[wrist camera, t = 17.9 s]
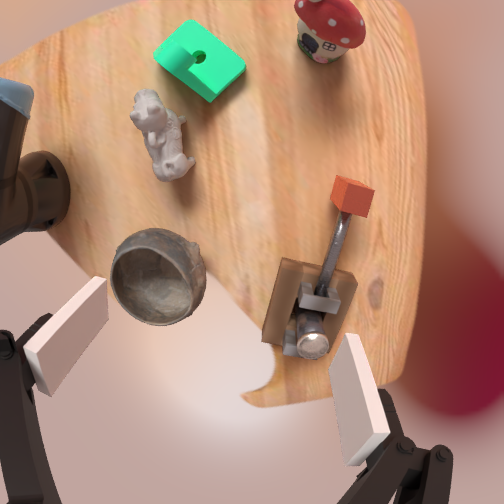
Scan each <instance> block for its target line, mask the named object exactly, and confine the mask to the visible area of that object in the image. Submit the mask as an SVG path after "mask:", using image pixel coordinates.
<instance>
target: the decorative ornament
mask: <svg viewBox="0 0 504 504" xmlns="http://www.w3.org/2000/svg"><path fill="white" fill-rule="evenodd" d="M294 8H295V11H296V13H297V14H298V16H299V17H300V19H299V21H298V24H297V29H298V33H299V34H298V38H297V41H298V44H299V46H300V48H301V49H302V50H303V51H304V52H305V53H306V54H307V55H308V56H309V57H310V58H311V59H313V60H314V61H316V62H318V63H329V62H333V61H336V60H337V59H338V58H339V57H340V56H341V55H343V54H344V53H346V52H347V51H348V50H349V48H351V49H352V48H356V47H358V46H360V45H361V44H362V43H363V42H364V39H365V35H366V29H365V23H364V20H363V18H362V16H361V14H360V12H359V11H358V9H357V8H356V7H355V6H354V5H353V4H352V3H351V2H350V1H349V0H296V1H295V5H294Z"/></svg>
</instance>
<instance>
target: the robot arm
mask: <svg viewBox="0 0 504 504" xmlns="http://www.w3.org/2000/svg"><path fill="white" fill-rule="evenodd" d="M33 99H34V91H33V89H32V88H31V87H30V86H29V85H26V84H23V83H20V82H16V81H12V80H9V79H5V78H1V77H0V245H1V244H3V243H5V242H7V241H8V240H10V239H12V238H13V237H15V236H17V235H19V234H21V233H23V232H37V231H46V230H49V229H51V228H52V227H54V226H56V225H58V224H59V223H60V222H61V221H62V219H63V218H64V216H65V215H66V212H67V210H68V206H69V200H70V187H69V181H68V177H67V174H66V171H65V169H64V167H63V165H62V163H61V162H60V161H59V159H58V158H57V157H56V156H54V155H53V154H51V153H50V152H47V151H37V152H32V153H29V154H27V155H25V156H24V157H22V158H21V159H20V155H21V150H22V145H23V141H24V136H25V132H26V128H27V124H28V120H29V119H30V111H31V107H32V103H33ZM107 321H108V301H107V279H105V278H101V277H98V276H94V277H93V278H92V279H91V280H90V281H89V282H88V283H87V284H86V285H85V286H83V287H82V288H81V289H80V290H79V291H78V292H77V293H76V294H75V295H74V296H73V297H72V298H71V299H70V300H69V301H68V302H67V303H66V304H64V306H62V307H61V308H60V309H59V310H58V311H57V312H56V313H55V314H54V315H52V314H50V313H48V314H45V315H43V316H41V317H40V318H39V319H38V320H37V321H36V322H35V323H34V324H33V325H31V327H29V329H27V330H26V331H25V333H23V335H22V336H20V338H19V339H18V340H17V341H16V342H15V340H14V337H13V334H12V333H11V332H10V331H7V330H0V462H1V467H2V472H3V477H4V481H5V486H6V490H7V494H8V499H9V502H8V503H7V504H62V503H61V500H60V497H59V495H58V492H57V489H56V486H55V483H54V480H53V477H52V474H51V471H50V467H49V464H48V460H47V456H46V453H45V449H44V445H43V441H42V436H41V432H40V427H39V423H38V417H37V412H36V406H35V400H34V394H33V390H32V386H33V385H34V383H36V385H37V388H38V390H39V391H40V392H42V393H44V394H46V395H48V396H50V397H52V395H53V394H54V392H55V391H56V389H57V388H58V387H59V385H60V384H61V382H62V381H63V379H64V378H65V377H66V375H67V374H68V373H69V371H70V370H71V368H72V367H73V366H74V364H75V363H76V362H77V360H78V359H79V357H80V356H81V355H82V353H83V352H84V351H85V349H86V348H87V347H88V345H89V344H90V343H91V342H92V340H93V339H94V338H95V336H96V335H97V334H98V332H99V331H100V330H101V329H102V327H103V326H104V324H105V323H106V322H107ZM328 370H329V376H330V381H331V387H332V392H333V398H334V404H335V410H336V416H337V422H338V428H339V434H340V441H341V447H342V454H343V462H344V466H360V465H361V464H362V463H363V462H364V461H365V460H366V463H367V467H366V468H365V469H364V470H363V471H362V472H361V473H360V474H359V475H357V477H358V478H357V479H356V481H355V482H354V483H353V485H352V486H351V487H350V488H349V490H348V491H347V492H346V493H345V495H344V496H343V497H342V498H341V499H340V500H339V502H338V503H337V504H388V503H389V501H390V500H391V498H392V496H393V495H394V493H395V491H396V490H397V492H396V495H395V499H394V502H393V504H448V502H449V495H450V488H451V479H452V469H453V454H452V452H451V450H450V449H448V447H446V446H444V445H436V446H435V447H433V448H432V449H431V450H426V449H421V448H417V447H416V445H415V444H414V442H413V441H412V440H411V439H410V438H408V437H405V436H404V433H403V430H402V427H401V424H400V421H399V418H398V415H397V413H396V410H395V407H394V403H393V401H392V398H391V396H390V395H389V393H388V392H387V391H386V390H385V389H377V387H376V384H375V381H374V378H373V375H372V372H371V369H370V366H369V363H368V360H367V358H366V355H365V352H364V349H363V346H362V343H361V341H360V338H359V335H358V334H351V333H345V335H344V337H343V340H342V342H341V344H340V346H339V348H338V350H337V352H336V355H335V357H334V359H333V361H332V363H331V365H330V367H329V369H328Z"/></svg>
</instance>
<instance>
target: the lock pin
mask: <svg viewBox="0 0 504 504" xmlns="http://www.w3.org/2000/svg"><path fill="white" fill-rule="evenodd" d="M374 191H375V190H373V189H371V188H370V187H368V186H366V185H364V184H363V183H361V182H359V181H355V180H352V179H349V178H345V177H341V176H338V175H336V178H335V182H334V186H333V190H332V194H331V197H330V199H331V200H332V202H333V203H334V204H335V205H336V206H337V207H338V209H339V213H338V217H337V220H336V224H335V227H334V230H333V234H332V237H331V240H330V244H329V247H328V250H327V253H326V256H325V260H324V263H323V266H322V269H321V272H320V275H319V278H318V281H317V284H316V287H315V290H314V293H313V294H314V295H316V296H321V297H325V296H326V293H327V290H328V287H329V285H330V282H331V279H332V276H333V273H334V270H335V267H336V264H337V261H338V258H339V255H340V252H341V249H342V246H343V243H344V240H345V236H346V233H347V230H348V227H349V224H350V220H351V217H352V214H355V215H358V216H362V217H366V218H367V215H368V212H369V209H370V205H371V202H372V198H373V195H374Z"/></svg>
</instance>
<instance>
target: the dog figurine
mask: <svg viewBox="0 0 504 504" xmlns="http://www.w3.org/2000/svg"><path fill="white" fill-rule="evenodd" d="M134 101H135V103H136V104H135V105H134V106H133V107H134V111H132V112H131V113H130V118H131V120H132V121H133V123H134V125H135V126H136V127H137V128H138V129H139V130H141V131H142V134H143V137H144V142H145V146H146V148H147V150H148V152H149V154H150V156H151V158H152V160H153V171H154V173H155V175H156V177H157V179H159V180H160V181H163V182H169V181H172V180H174V179H178V178H180V177H182V176H184V175H185V174H186V173H187V171H188V170H189V169H190V168H191V167H192V166H193V165H195V163H196V161H195V158H194V157H188V158H186V156H185V155H184V154H183V146H182V133H181V132H182V131H181V130H180V129H181V124H183V123H185V122H186V117H185V116H179V118H178V116H177V115H176V114H175V113H174V112H173V111H172V110H170V109H168V108H165V107H164V106H163V104H162V101H161V100H160V98H159V96H158V94H157V92H156V91H154V90H151V89H142V90H139V91H138V92H137V94H136V95H135V97H134Z"/></svg>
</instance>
